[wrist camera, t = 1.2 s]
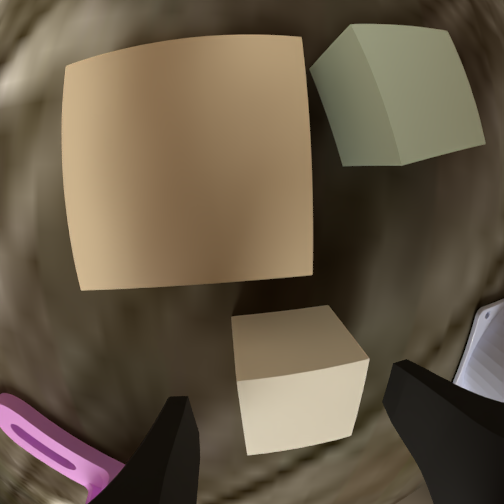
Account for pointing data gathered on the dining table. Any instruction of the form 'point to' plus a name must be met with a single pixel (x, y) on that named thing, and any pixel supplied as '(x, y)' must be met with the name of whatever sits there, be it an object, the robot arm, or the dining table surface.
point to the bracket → (56, 446)
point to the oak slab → (189, 163)
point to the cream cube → (296, 378)
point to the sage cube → (396, 95)
